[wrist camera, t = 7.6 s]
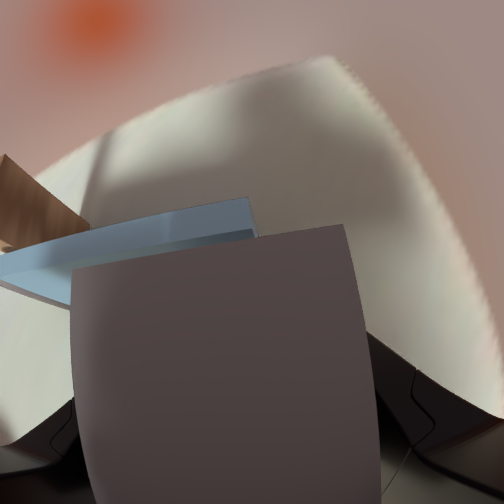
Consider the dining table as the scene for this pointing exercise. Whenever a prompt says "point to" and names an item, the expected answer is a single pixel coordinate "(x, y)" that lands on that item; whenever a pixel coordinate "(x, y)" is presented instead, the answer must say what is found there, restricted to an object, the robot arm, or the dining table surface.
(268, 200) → the dining table surface
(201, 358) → the block
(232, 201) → the gate
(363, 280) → the dining table surface
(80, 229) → the brown wooden block
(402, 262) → the dining table surface
